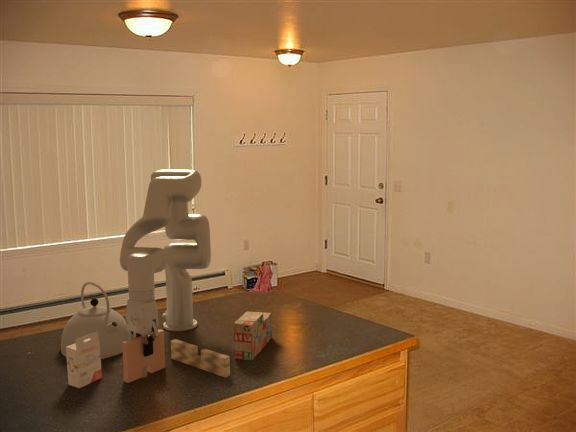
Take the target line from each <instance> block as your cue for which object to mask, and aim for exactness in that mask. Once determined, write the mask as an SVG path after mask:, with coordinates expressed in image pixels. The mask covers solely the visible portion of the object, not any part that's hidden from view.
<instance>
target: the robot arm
mask: <svg viewBox="0 0 576 432" xmlns="http://www.w3.org/2000/svg"><path fill="white" fill-rule="evenodd" d="M201 188H202V176H201V173H199V172H198V170H195V169H158V170H155V171H153V172H152V173H151V175H150V181H149V183H148V189H147V191H146V192H147V193H146V199H145V204H144V209H143V213H142V217H140V218H139V219H138V220H137V221H136V222H134V223H133V224H132V225H131V227H130V228H129V229H128V230H127V231H126V233H125V234H124V236H123V240H122V245H121V248H120V255H119V265H120V267H121V269H122V270H124V271H126V272H127V281H128V282H127V285H128V288H127V289H128V298H127V302H126V308H125V309H126V310H125V321H126V327H127V329H128V330H130V334H131V335H132V339H133V338H136V337H139V336H142V335H144V341H145V343H144V344H143V350H144V356H145V357H147V356H149V355H152V354H153V342H154V340H155V339H156V338H157V337H159V336H160V335H159V332H158V330H159V312H158V306H157V305H158V304H157V302H156V297H155V296H156V293H155V292H156V289H155V287H156V286H155V274H157V273H160V272H162V271H163V270H164V272H165V289H166V290H165V291H166V292H165V294H166V310H165V311H164V313H162V314H161V316H162V318H163V319H164V318H165V321H164V322H163V323H162V325H163V326H162V327H163V328H164V329H165V330H167V331H170V332H186V331H190V330H193V329H195V328H196V327H197V326H198V321H197V320H196V319H195V318H194V305H193V304H194V301H193V279H192V276H191V275H190V273H189V272H188V270H205V269H208V267H210V265H211V258H212V252H211V251H212V248H211V247H212V246H211V231H210V230H211V228H210V223H209V222H210V221H209V220H208V217H207V216H206V215H203V214H199V213H193V214H192V213H189V210H188V209H189V208H188V204H189V202H192V200H194V199H195V197H196V196H197V195H198V194H199V192H200V191H201ZM163 228H164V230H165V235H166V237H167V239H169V240H173V241H194V242H172V243H168V244H166V245H165V246H164V248H161V247H147V246H146V247H145V246H140V247H139V246H136V245H137V242H138V241H139V240H140V239H142V238H143V237H144V236H147V235H149V234H151V233H153V232H155V231H158V230H162V229H163ZM148 335H150V336H149V338H148Z"/></svg>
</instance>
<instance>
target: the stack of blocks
mask: <svg viewBox="0 0 576 432" xmlns="http://www.w3.org/2000/svg"><path fill="white" fill-rule="evenodd" d="M272 333H273V322H272V313H271V312H265V311H263V312H260V311H246V312H245V313H243V315H241V316H240V317H239V318H238V319H237V320H235V321H234V322H233V345H234V347H233V355H234V357H233V359H234V358H238V359H237V360H241V359H247V360H246V361H251V360H252V361H254V359H255V358H256V357H257V356H258V355H259V354H260V353H261V352H262V350H263V349H264V348H265V346H266V345H267V344H268V343H269V342H268V341H269V340H270V341H271V339H272V338H273V334H272ZM267 342H268V343H267ZM266 343H267V344H266ZM265 344H266V345H265ZM264 345H265V346H264ZM262 348H263V349H262ZM261 349H262V350H261ZM259 352H260V353H259ZM258 353H259V354H258ZM257 354H258V355H257ZM256 355H257V356H256ZM255 356H256V357H255ZM254 357H255V358H254ZM253 358H254V359H253Z"/></svg>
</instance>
